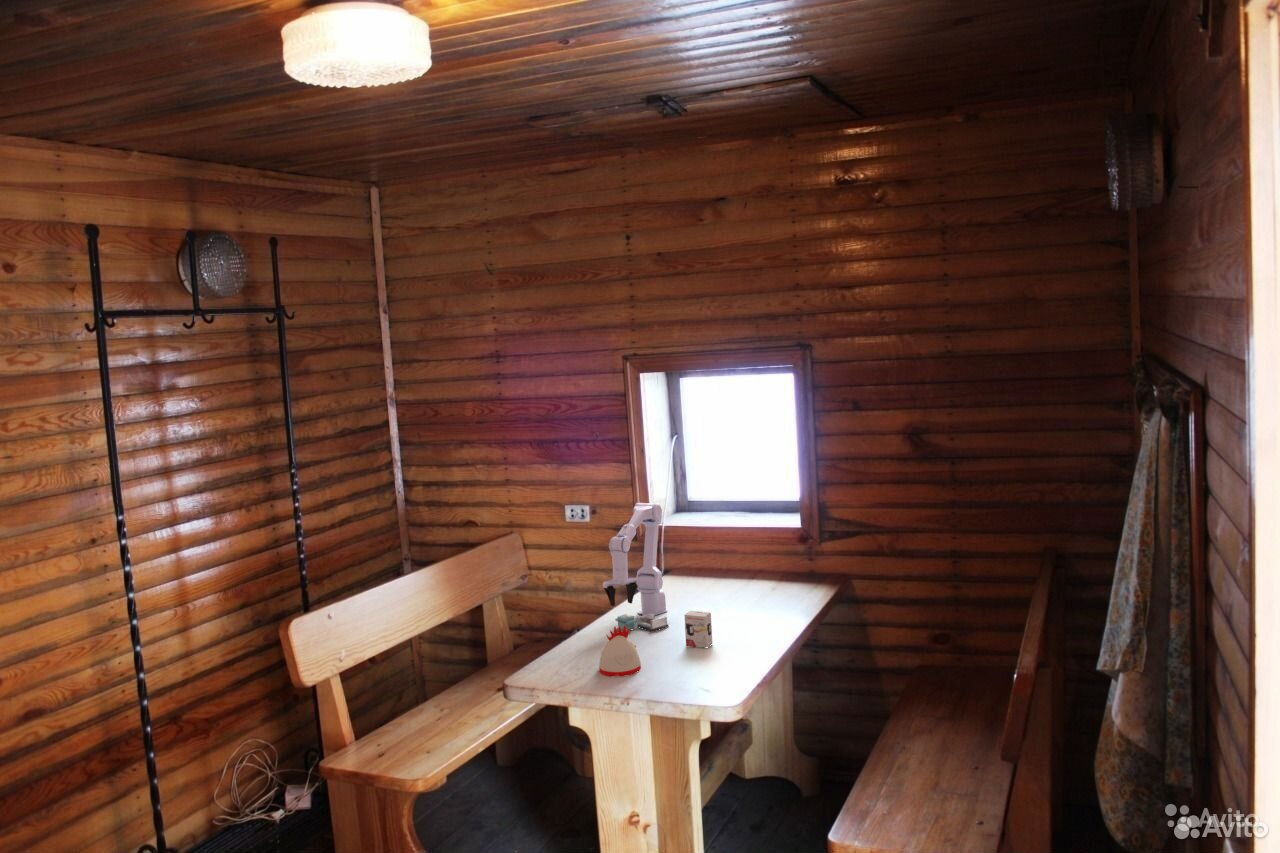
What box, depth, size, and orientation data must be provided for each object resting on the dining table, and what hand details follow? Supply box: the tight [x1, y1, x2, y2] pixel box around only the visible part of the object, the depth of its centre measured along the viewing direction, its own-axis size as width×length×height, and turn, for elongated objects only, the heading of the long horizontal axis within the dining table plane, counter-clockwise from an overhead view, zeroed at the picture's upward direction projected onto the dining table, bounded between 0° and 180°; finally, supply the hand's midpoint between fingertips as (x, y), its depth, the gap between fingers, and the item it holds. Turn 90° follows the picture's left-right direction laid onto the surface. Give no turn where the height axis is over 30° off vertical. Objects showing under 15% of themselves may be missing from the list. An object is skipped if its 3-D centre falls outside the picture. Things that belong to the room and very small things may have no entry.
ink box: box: [684, 610, 713, 648], centre depth 361 cm, size 9×5×12 cm, turn 62°
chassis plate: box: [636, 613, 669, 632], centre depth 387 cm, size 8×9×4 cm
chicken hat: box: [598, 625, 642, 677], centre depth 341 cm, size 14×14×15 cm
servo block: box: [614, 613, 638, 631], centre depth 386 cm, size 4×8×6 cm, turn 39°
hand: (621, 604), depth 385 cm, fingers open, 7 cm apart
